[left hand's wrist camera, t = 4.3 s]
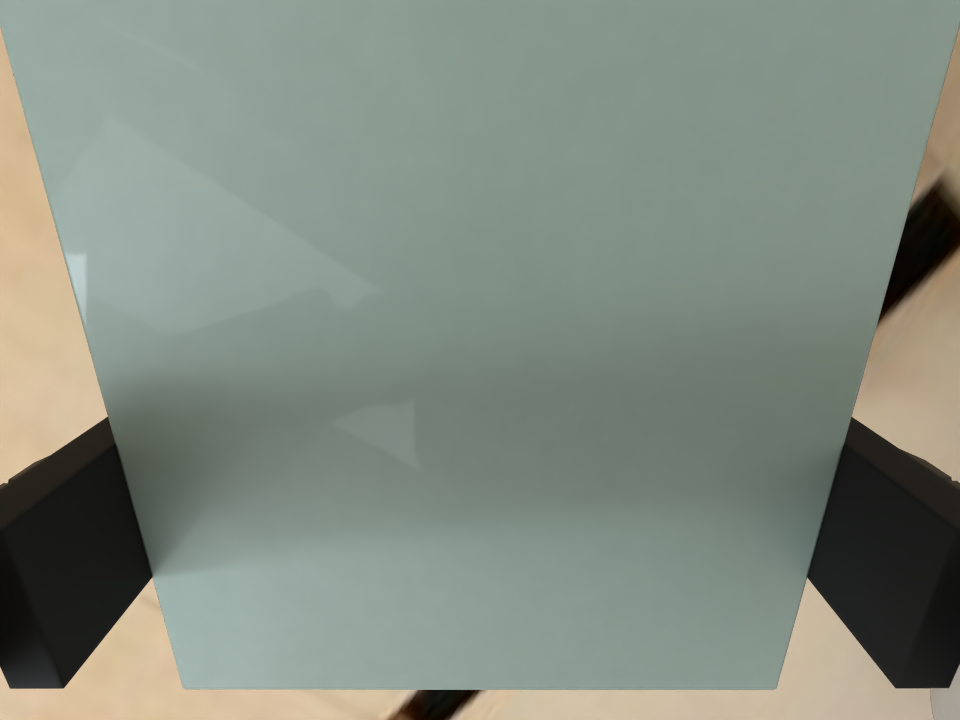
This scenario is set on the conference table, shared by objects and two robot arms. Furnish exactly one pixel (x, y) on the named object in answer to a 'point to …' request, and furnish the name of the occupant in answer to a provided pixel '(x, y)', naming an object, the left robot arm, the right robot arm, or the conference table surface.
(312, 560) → the cabinet
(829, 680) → the conference table surface
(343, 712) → the conference table surface
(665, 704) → the conference table surface
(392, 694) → the conference table surface
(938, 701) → the projector
